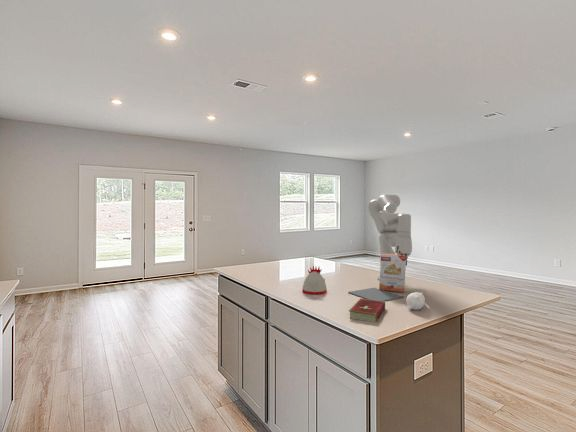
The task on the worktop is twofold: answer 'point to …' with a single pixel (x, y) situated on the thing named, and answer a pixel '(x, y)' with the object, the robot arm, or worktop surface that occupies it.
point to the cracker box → (392, 272)
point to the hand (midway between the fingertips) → (403, 265)
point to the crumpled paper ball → (416, 301)
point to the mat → (375, 294)
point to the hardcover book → (367, 310)
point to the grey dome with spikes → (314, 283)
